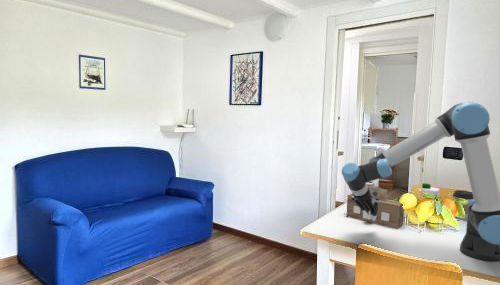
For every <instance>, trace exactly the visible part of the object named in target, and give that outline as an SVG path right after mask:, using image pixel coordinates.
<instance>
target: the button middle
mask: <svg viewBox="0 0 500 285" xmlns="http://www.w3.org/2000/svg"><path fill="white" fill-rule="evenodd" d="M363 218H366V219H371V217H370V215H368V214H367V212H366V211H365V210H364V211H363Z"/></svg>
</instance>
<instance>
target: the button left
mask: <svg viewBox="0 0 500 285" xmlns="http://www.w3.org/2000/svg"><path fill="white" fill-rule="evenodd" d="M353 213H357V214H361V209H360V207H359V206H357V205H354V207H353Z"/></svg>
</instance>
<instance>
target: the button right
mask: <svg viewBox="0 0 500 285" xmlns="http://www.w3.org/2000/svg"><path fill="white" fill-rule="evenodd" d="M381 220H384V221H388V222H389V221H390V213H388V212H384V211H383V212H381Z"/></svg>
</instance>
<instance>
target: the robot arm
mask: <svg viewBox="0 0 500 285" xmlns="http://www.w3.org/2000/svg"><path fill="white" fill-rule="evenodd" d="M490 120H491V119H490V113H489V111H488V110H487V109H486V108H485V106H484V105H482V104H480V103H477V102H474V101H467V102H461V103H457V104H454V105H453V106H451V107H450V108H449V109H447V110H446V111H445V112H444V113H441V115H439V116H437V117H436V118H435V120H434V122H433V123H430V124H429V125H428V126H425V127H424V128H422V129H420V130H419V131H417V132H415V133H414V134H412V135H410V136H408V137H407V138H405V139H403V140H402V141H400V142H398V143H396V144H395V145H393V146H391V147H390V148H388V149H387V150H385V151H383V152H382V153H379V154H378V155H377V156H373V157H372V158H370V159H369V161H368V162H367V163H365V164H360V165H358V164H357V163H356V162H355V163H354V162H348V163H346V164H344V166H343V167H342V168H341V175H342V177H343V180H344V181H345V183H346V184H347V187H348V189H349V190H350V192H351V194H353V196H352V198H351V199H352V200H353V201H354V202H355V203H356V204H357V205H358V206H359V207H360V209H361V210H362V211H364V210H365V211H366V212H367V214H368V215H370V217H371V219H372V220H373V221H375V220H376V217H377V216H376V214H377V211H378V201H379V199H373V197H372V196H371V193H370V190H369V188H368V186H367V184H366V182H368V181H371V182H372V181H375V180H378V179H384V178H386V177H389V176H392V175H393V170H392V167H394V166H396V165H398V164H400V163H401V162H404V161H405V160H407V159H408V158H410V157H412V156H414V155H416V154H418V153H420V152H421V151H422V150H424V149H426V148H428V147H429V146H432V145H434V144H435V143H437V142H439V141H440V140H442V139H444V138H447V137H448V138H451V137H452V136H453V137H454V140H455V142H457V143H458V144H460V147H461V152H462V156H463V160H464V164H465V168H466V172H467V176H468V180H469V185H470V189H471V192H472V193H473V198H474V199H472V200H470V201H469V205H468V217H467V220H466V229H465V230H466V231H465V234H464V236H463V237H462V240H461V241H460V244H459V251H460V252H461V253H462V254H464V255H466V256H468V257H470V258H474V259H478V260H482V261H487V262H499V261H500V190H499V186H498V182H497V177H496V173H495V168H494V164H493V160H492V157H491V152H490V149H489V143H488V138H489V137H490V136H491V132H490V128H489V127H490V126H489V124H490ZM368 183H369V182H368ZM371 201H373V204H374V205H373V204H372V202H371ZM362 206H363V207H362Z"/></svg>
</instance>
